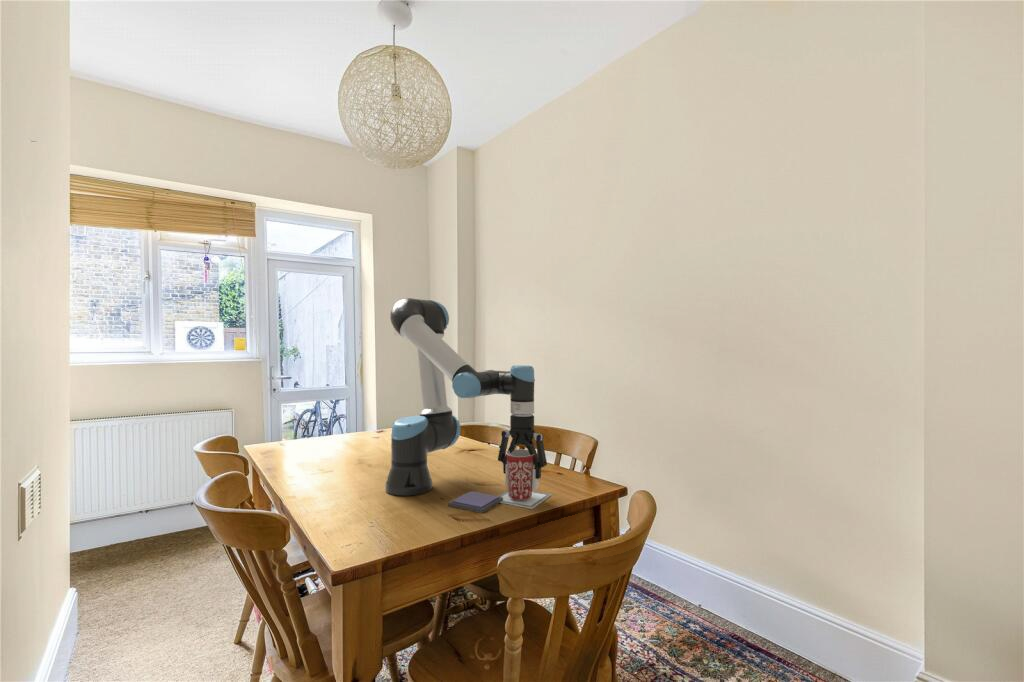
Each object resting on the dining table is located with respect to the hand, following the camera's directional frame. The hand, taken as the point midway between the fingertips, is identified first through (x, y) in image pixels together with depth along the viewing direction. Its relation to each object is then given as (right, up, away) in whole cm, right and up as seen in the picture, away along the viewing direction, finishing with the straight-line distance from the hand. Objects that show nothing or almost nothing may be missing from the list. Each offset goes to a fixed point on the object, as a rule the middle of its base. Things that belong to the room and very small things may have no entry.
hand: (521, 486), depth 145 cm
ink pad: (-14, -4, -5) cm, 15 cm away
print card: (0, -4, 0) cm, 4 cm away
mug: (0, -3, 0) cm, 3 cm away
